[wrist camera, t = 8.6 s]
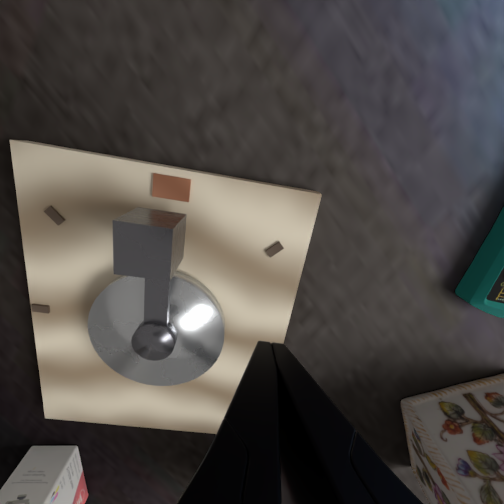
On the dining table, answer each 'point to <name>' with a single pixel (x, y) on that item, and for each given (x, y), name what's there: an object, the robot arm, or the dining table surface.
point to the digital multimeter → (487, 273)
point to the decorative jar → (458, 441)
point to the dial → (155, 305)
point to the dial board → (193, 263)
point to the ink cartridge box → (47, 478)
